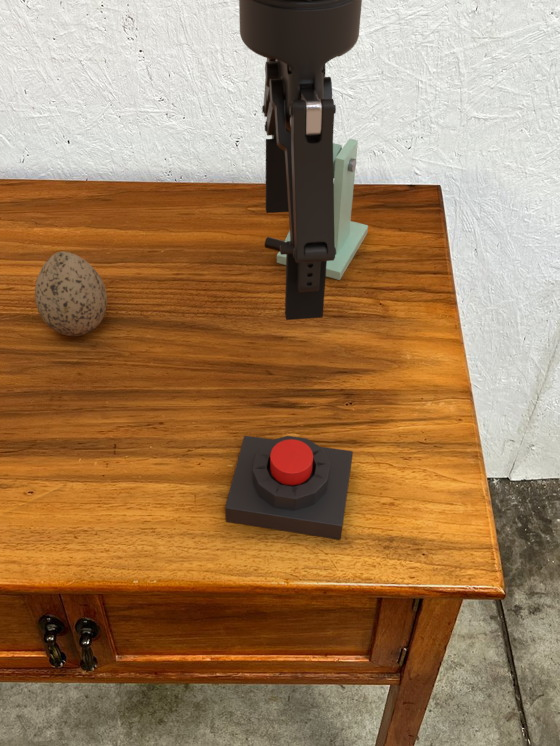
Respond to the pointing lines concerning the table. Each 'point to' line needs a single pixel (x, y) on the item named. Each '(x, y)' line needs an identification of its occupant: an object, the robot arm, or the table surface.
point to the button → (291, 462)
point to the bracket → (343, 214)
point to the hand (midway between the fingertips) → (291, 259)
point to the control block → (290, 491)
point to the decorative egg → (70, 295)
